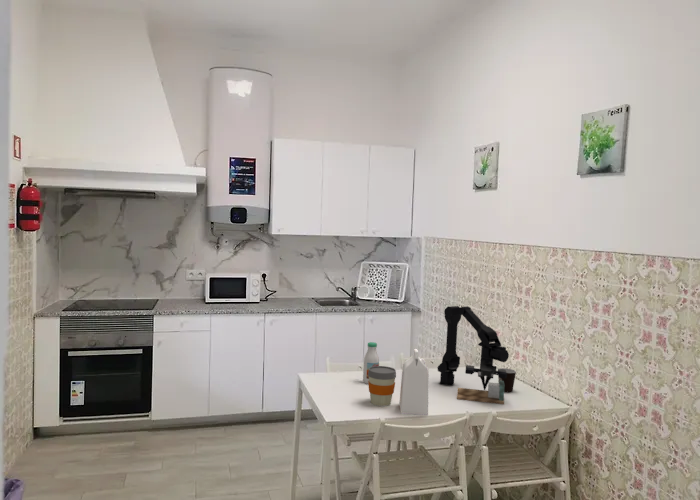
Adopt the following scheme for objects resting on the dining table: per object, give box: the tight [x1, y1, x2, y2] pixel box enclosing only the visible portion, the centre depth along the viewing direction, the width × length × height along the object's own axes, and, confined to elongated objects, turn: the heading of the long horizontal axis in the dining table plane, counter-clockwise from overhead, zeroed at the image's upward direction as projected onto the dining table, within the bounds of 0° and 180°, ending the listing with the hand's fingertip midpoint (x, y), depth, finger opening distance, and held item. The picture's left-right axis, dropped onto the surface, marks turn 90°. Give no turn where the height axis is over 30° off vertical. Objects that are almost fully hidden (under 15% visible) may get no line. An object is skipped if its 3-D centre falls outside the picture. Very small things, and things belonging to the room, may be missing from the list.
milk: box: [398, 348, 430, 416], centre depth 244 cm, size 12×12×26 cm
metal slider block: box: [487, 381, 500, 399], centre depth 264 cm, size 5×6×6 cm
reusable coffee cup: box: [367, 365, 397, 407], centre depth 252 cm, size 13×13×15 cm
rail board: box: [456, 380, 505, 405], centre depth 265 cm, size 21×12×8 cm, turn 78°
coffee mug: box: [497, 367, 517, 393], centre depth 280 cm, size 12×9×10 cm
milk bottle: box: [362, 341, 380, 385], centre depth 282 cm, size 8×8×20 cm
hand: (484, 389), depth 265 cm, fingers closed
